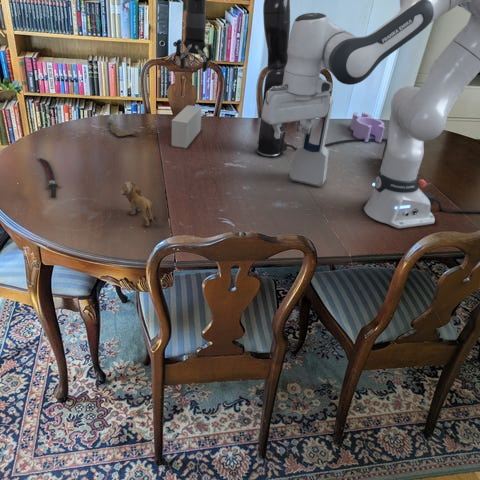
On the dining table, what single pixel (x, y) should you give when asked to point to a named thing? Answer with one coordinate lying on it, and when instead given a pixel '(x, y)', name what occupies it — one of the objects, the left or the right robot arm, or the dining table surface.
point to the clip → (367, 127)
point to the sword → (52, 181)
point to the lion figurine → (137, 201)
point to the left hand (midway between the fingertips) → (193, 69)
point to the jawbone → (119, 132)
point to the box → (186, 126)
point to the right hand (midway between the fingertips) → (291, 135)
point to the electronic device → (312, 157)
